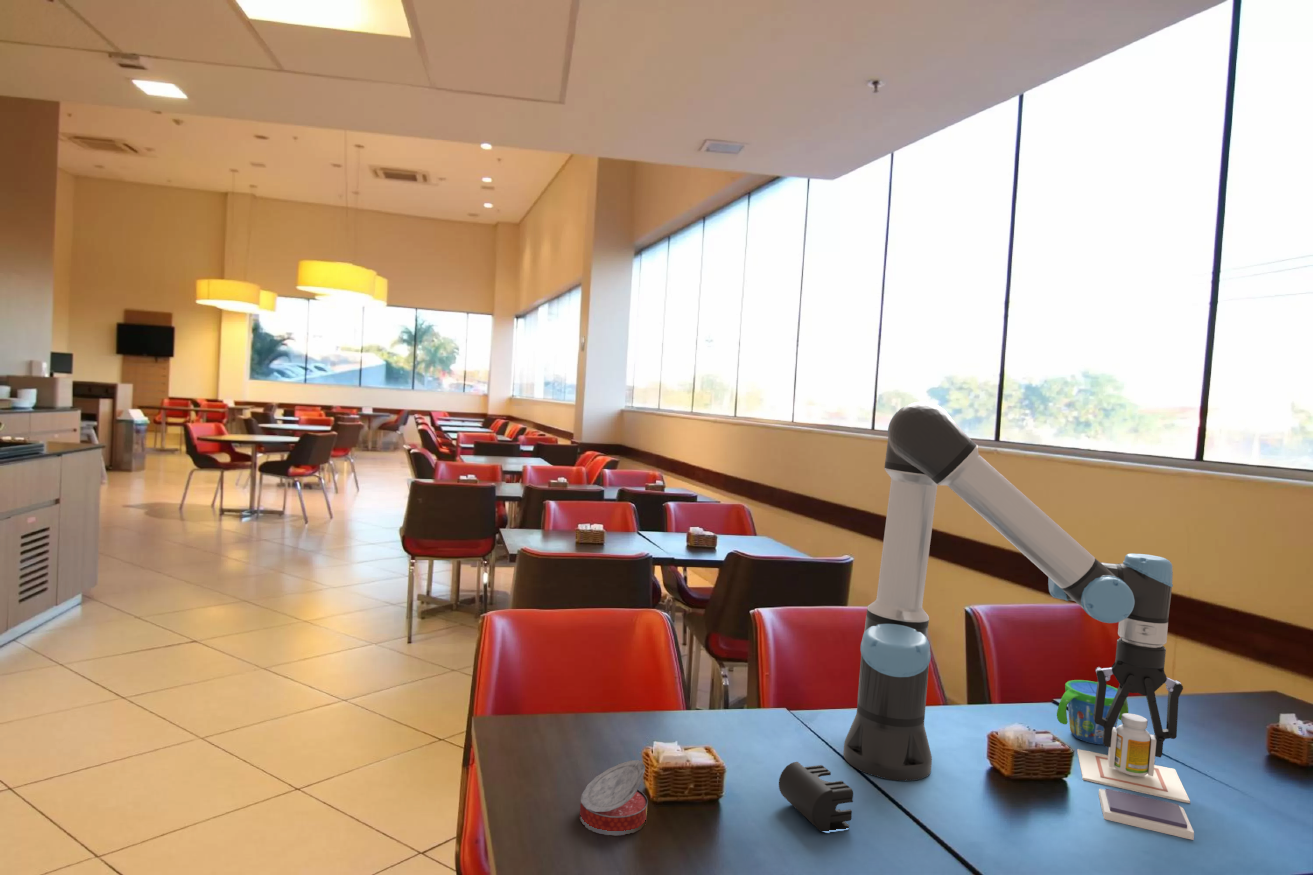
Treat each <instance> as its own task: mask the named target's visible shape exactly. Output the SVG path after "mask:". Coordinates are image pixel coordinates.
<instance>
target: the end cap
mask: <svg viewBox="0 0 1313 875" xmlns="http://www.w3.org/2000/svg"><path fill="white" fill-rule="evenodd" d="M831 774H832V772H831V771H830V770H828V769H827V768H826V766H824V765H822V764H820V765H811V766H803V765H802V764H801V763H800V762H799V761H794V762H792V763H790V764H788V765H787V766H786V767H784V769H783V770H782V772H781V773H780V776H779V780H778V789H779V792H780V794H781V795H782V797H783V798H784V799H786V801H787V802H789V804H790V805H792V806H793V808H795V809H796V810H797V811H798V812H799V813H800V814H801V815H802V816H804V817H805V819H807V820H808V821H809V822H810V823H811V824H812V825H813V826H814V827H816V829H817V830H818V831H819V832H821V831H829V830H836V829H846V828H849V829H850V825H849V823H847V822H850V821H851V820H852V816H853V815H852V814H853V810H852V809H851V808H850V809H843V810H841V809H836V808H837V806H838V805H840V804H847V803H848V804H849V803H853V802H854V791H853V789H852V788H851V787H850V785H848V784H847V783H845V782H844V781H843V780H838V781H826V780H823V779H821V778H820V777H828V776H831Z"/></svg>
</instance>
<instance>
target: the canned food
mask: <svg viewBox="0 0 1313 875" xmlns="http://www.w3.org/2000/svg"><path fill="white" fill-rule="evenodd" d="M645 771H646V765H645V764H644V763H643V762H642V761H641V760H637V759H636V760H628V761H625V762H619V763H618V764H617V765H614V766H612V767H609V768H607V769H606V770H605V771H603V772H602V773H600V774H598V775H596V776H595V777H594V778H593V779H592V780H591V781H590V782H589V783H588V784H587V785H586V786H585V788H584V790H583V792H582V793H581V796H580V805H579V806H580V807H579V808H580V809H579V816H580V815H581V817H582V819H583V820H584V822H586V823H587V824H589V826H592V827H594V828H597V829H602V830H607V831H624V830H625V831H626V830H631V829H635V828H638V827H639V826H641V825H642V824H643V823H644V822H645V820H646V821H647V815H648V814H647V813H648V812H647V811H648V804H649V803H648V802H649V800H648V798H647V795H645V793H643V791H641V790H640V789H639V788H640V787H641V785H642V780H643V777H644V774H645Z"/></svg>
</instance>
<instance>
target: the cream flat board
mask: <svg viewBox="0 0 1313 875" xmlns="http://www.w3.org/2000/svg"><path fill="white" fill-rule="evenodd" d="M1076 752H1077V758H1078V763H1079V767H1080V772H1081V777H1082V780H1083V781H1087V782H1090V783H1091V782H1092V783H1096V784H1101V785H1104V786H1110V787H1114V788H1117V789H1119V788H1120V789H1123V790H1128V791H1131V792H1137V793H1140V794H1141V793H1142V794H1145V795H1146V794H1147V795H1151V796H1153V797H1154V796H1155V797H1160V798H1164V799H1169V800H1171V801H1172V800H1173V801H1177V802H1181V803H1187V804H1191V800H1190V798H1189V795H1188V794H1187V791H1186V790H1185V787H1184V785H1183V783H1182V781H1181V779H1180V777H1179V775H1178V773H1177V770H1176V769H1175V768H1171V767H1166V766H1162V765H1158V764H1157V765H1156V764H1154V773H1153V776H1149V775H1148V773H1147V774H1146V775H1145V776H1133V775H1129V774H1126V773H1123V772H1120V771H1118V770H1117V769H1116V768H1115V767H1114V768H1112V767H1109V765H1108V754H1104V753H1099V752H1094V751H1089V750H1085V749H1081V748H1080V749H1079V748H1077V749H1076Z"/></svg>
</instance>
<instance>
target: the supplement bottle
mask: <svg viewBox="0 0 1313 875" xmlns="http://www.w3.org/2000/svg"><path fill="white" fill-rule="evenodd" d="M1120 721H1121V724H1119V725H1117V726H1116V731H1117V739H1116V750H1115V761H1114V767H1115V768H1116V769H1117V770H1118V771H1120V772H1123V773H1126V774H1129V775H1133V776H1145V775H1146V774H1147V772H1148V762H1149V750H1150V740H1151V736H1150V732H1149V731H1148V730H1147V728H1148V721H1149V720H1148V719H1147V718H1145V717H1144V716H1142V715H1140V714H1135V713H1129V712H1128V713H1124V714H1122V719H1121V720H1120Z"/></svg>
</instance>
